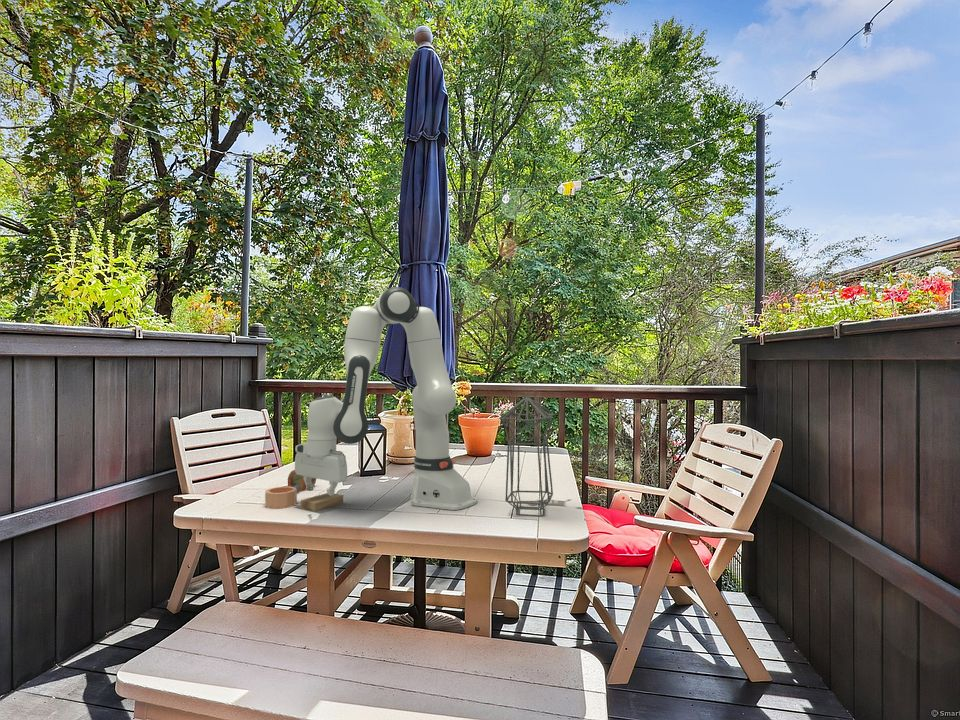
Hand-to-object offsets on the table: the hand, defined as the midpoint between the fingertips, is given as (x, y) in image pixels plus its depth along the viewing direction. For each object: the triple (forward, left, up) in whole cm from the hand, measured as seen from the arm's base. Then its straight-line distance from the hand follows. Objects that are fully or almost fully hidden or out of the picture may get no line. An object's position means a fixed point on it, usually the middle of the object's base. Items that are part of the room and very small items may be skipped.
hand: (319, 492), depth 154 cm
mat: (0, -1, -5) cm, 5 cm away
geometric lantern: (-56, -31, -5) cm, 64 cm away
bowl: (+12, +5, -5) cm, 14 cm away
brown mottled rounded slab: (+22, -11, -5) cm, 25 cm away
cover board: (0, -1, -4) cm, 4 cm away
